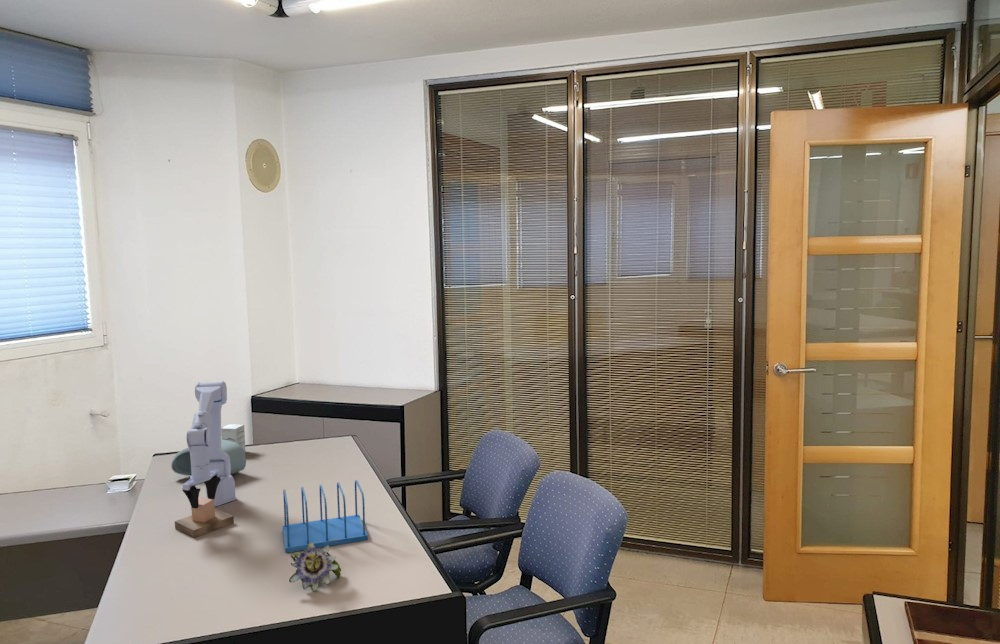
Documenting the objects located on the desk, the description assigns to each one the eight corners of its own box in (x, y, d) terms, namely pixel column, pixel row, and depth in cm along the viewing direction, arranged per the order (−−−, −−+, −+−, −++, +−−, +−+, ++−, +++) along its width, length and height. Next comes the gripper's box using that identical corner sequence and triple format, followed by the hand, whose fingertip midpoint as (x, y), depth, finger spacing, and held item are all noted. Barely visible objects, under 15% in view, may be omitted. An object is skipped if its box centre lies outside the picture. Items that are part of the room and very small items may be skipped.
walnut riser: (214, 514, 241) (214, 507, 241) (233, 523, 234) (233, 515, 234) (175, 528, 230) (174, 521, 230) (194, 537, 223) (193, 530, 223)
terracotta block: (203, 514, 235) (201, 497, 234) (215, 516, 233) (214, 499, 233) (192, 520, 230) (190, 503, 229) (204, 522, 229) (203, 504, 228)
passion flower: (316, 611, 190) (287, 584, 183) (304, 584, 200) (276, 557, 193) (353, 579, 193) (326, 551, 186) (340, 554, 203) (314, 527, 196)
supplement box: (221, 456, 305) (220, 428, 303) (231, 450, 312) (229, 423, 311) (237, 456, 304) (235, 428, 302) (246, 451, 311) (244, 424, 309)
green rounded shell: (247, 475, 281) (245, 444, 279) (205, 489, 265) (202, 457, 263) (213, 465, 293) (211, 436, 291) (171, 479, 277) (168, 448, 275)
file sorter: (285, 554, 211) (282, 505, 209) (282, 531, 227) (279, 486, 225) (368, 540, 220) (366, 493, 218) (359, 519, 236) (357, 476, 234)
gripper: (206, 456, 237) (209, 494, 239) (174, 470, 224) (177, 510, 225) (223, 457, 235) (225, 496, 237) (191, 472, 221) (194, 512, 223)
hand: (203, 503), depth 231 cm, fingers open, 7 cm apart
